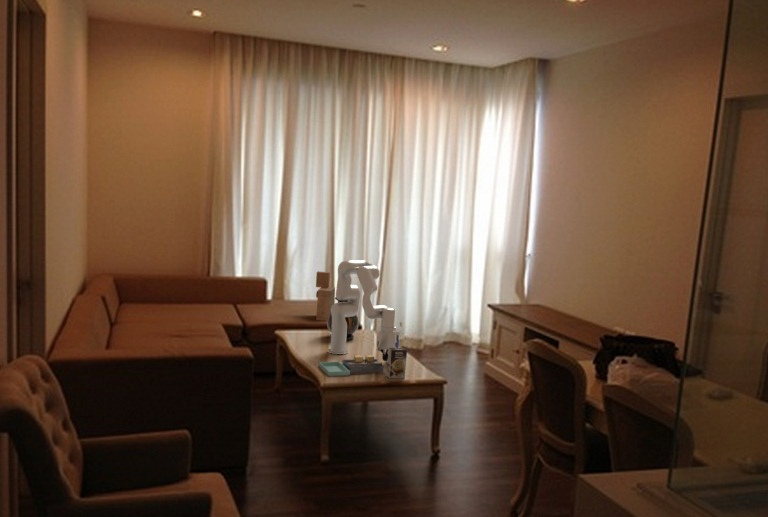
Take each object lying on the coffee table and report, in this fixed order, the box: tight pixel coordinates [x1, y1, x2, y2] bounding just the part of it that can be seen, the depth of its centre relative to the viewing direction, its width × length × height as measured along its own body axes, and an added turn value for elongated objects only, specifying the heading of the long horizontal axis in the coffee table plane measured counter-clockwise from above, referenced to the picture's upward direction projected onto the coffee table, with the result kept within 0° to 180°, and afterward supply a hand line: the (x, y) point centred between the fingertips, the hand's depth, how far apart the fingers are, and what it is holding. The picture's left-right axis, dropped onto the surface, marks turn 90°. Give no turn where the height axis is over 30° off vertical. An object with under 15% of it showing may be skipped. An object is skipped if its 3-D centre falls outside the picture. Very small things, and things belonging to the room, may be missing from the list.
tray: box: [318, 361, 351, 377], centre depth 381 cm, size 20×12×2 cm, turn 21°
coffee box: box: [386, 347, 408, 379], centre depth 377 cm, size 9×6×16 cm
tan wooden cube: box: [353, 354, 364, 363], centre depth 386 cm, size 4×4×4 cm
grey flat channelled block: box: [341, 358, 384, 375], centre depth 387 cm, size 14×20×5 cm
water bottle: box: [385, 322, 403, 363], centre depth 408 cm, size 8×9×25 cm
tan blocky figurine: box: [315, 271, 336, 322], centre depth 526 cm, size 19×14×35 cm
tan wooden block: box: [364, 354, 375, 363], centre depth 389 cm, size 4×4×4 cm
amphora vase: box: [326, 296, 360, 341], centre depth 463 cm, size 22×22×28 cm
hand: (385, 360), depth 392 cm, fingers closed
